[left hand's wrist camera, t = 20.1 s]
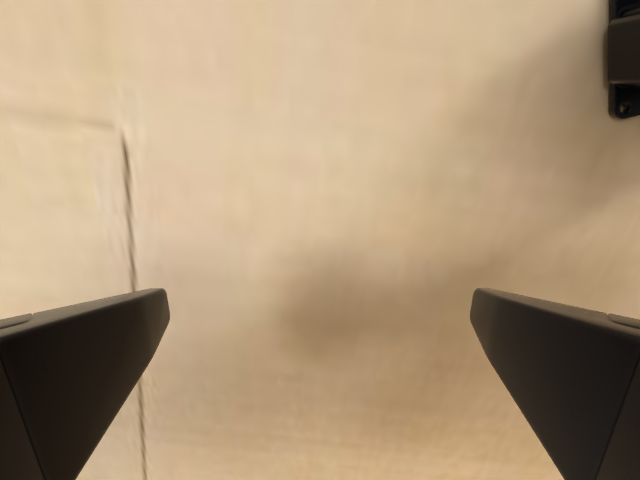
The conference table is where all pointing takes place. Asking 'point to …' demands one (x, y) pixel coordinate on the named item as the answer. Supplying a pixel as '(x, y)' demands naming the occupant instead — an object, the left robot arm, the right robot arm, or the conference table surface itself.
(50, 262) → the conference table surface
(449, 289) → the conference table surface
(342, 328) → the conference table surface
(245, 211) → the conference table surface
